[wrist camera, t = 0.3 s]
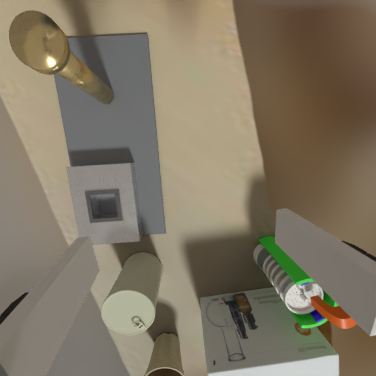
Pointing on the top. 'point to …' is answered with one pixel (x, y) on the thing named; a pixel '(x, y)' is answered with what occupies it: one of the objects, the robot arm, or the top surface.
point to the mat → (116, 119)
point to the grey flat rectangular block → (90, 207)
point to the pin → (53, 53)
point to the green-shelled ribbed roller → (298, 288)
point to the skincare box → (261, 338)
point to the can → (134, 295)
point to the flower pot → (166, 357)
